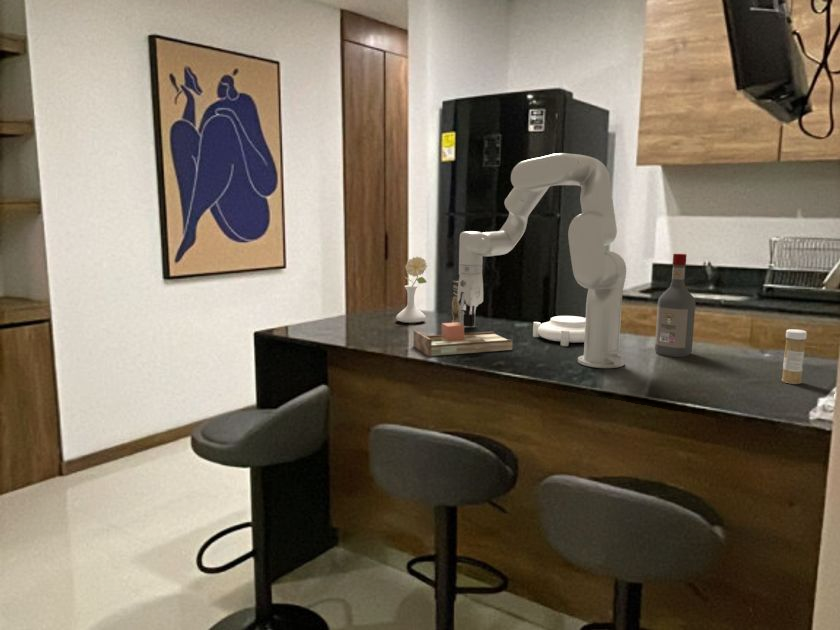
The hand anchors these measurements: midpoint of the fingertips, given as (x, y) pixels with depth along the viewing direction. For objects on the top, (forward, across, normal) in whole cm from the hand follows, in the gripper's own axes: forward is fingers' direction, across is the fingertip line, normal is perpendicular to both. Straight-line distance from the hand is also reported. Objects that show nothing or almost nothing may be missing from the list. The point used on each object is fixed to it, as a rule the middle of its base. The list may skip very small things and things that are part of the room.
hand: (468, 325), depth 216 cm
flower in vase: (+6, +18, +33) cm, 38 cm away
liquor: (+4, +17, -61) cm, 63 cm away
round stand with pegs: (+5, +21, -27) cm, 34 cm away
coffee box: (+6, +24, +14) cm, 28 cm away
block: (+3, -10, +1) cm, 10 cm away
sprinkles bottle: (+4, -1, -93) cm, 93 cm away
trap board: (+5, -10, -4) cm, 12 cm away
